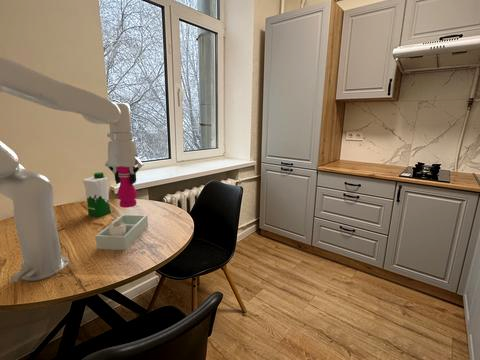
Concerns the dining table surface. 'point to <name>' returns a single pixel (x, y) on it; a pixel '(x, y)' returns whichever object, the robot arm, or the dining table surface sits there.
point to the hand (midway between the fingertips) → (126, 182)
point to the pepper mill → (126, 188)
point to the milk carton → (97, 195)
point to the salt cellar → (117, 229)
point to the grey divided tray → (133, 230)
